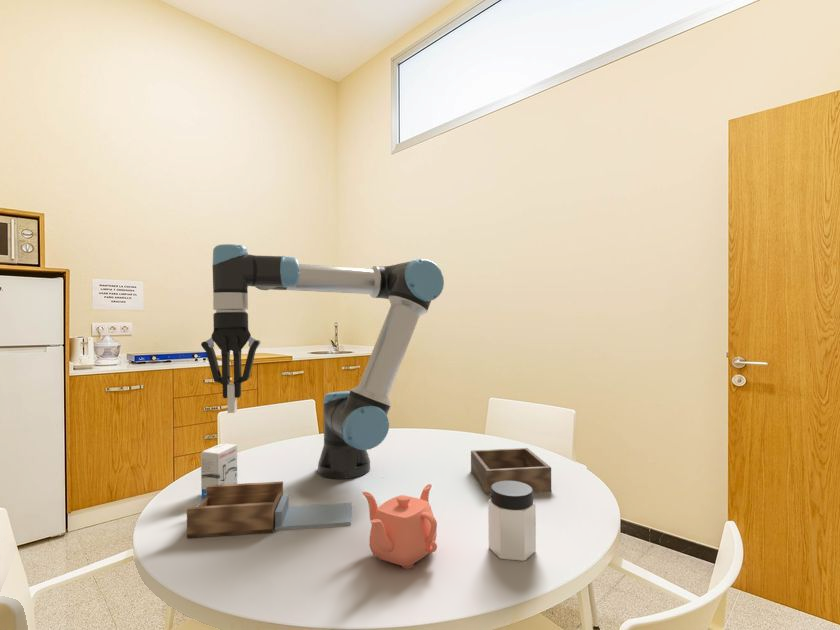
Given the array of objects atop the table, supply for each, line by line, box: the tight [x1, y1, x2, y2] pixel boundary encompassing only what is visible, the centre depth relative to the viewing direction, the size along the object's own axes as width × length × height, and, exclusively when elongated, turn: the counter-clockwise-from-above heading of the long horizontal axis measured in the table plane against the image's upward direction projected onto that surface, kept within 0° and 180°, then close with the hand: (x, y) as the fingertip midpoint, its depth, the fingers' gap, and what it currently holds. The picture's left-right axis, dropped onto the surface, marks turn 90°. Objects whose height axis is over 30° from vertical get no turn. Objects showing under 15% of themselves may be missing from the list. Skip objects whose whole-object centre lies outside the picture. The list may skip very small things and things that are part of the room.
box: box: [186, 481, 284, 539], centre depth 101 cm, size 17×13×6 cm
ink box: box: [200, 443, 238, 500], centre depth 116 cm, size 9×5×12 cm, turn 168°
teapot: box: [361, 484, 438, 569], centre depth 86 cm, size 14×14×11 cm
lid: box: [274, 494, 353, 531], centre depth 102 cm, size 16×10×4 cm, turn 98°
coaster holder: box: [470, 447, 552, 495], centre depth 124 cm, size 17×17×6 cm
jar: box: [487, 481, 537, 562], centre depth 88 cm, size 9×8×12 cm
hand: (232, 411), depth 106 cm, fingers closed
